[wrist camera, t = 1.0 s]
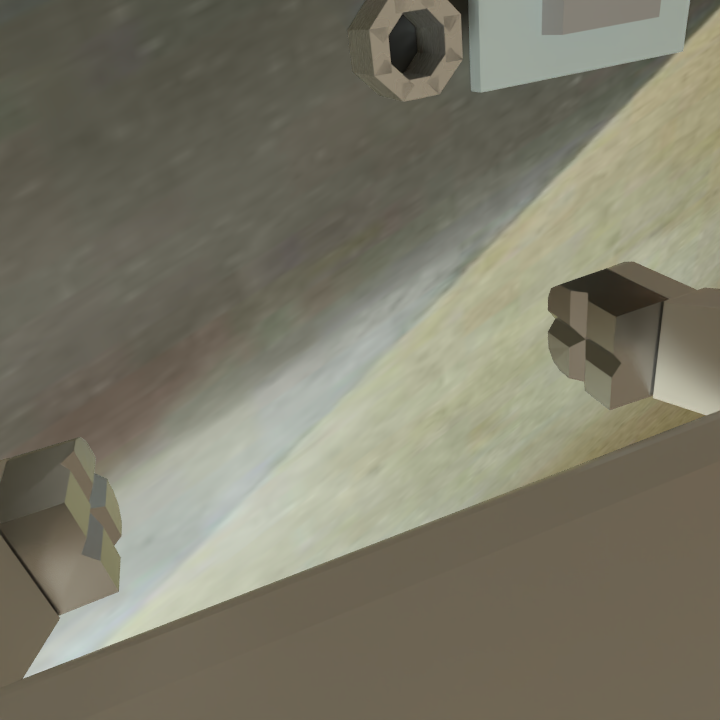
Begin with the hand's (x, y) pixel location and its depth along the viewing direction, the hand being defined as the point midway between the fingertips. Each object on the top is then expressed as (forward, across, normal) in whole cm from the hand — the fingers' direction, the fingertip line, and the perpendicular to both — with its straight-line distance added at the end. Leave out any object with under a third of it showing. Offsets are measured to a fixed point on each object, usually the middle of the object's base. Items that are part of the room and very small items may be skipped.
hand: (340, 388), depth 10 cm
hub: (+35, -15, -2) cm, 38 cm away
